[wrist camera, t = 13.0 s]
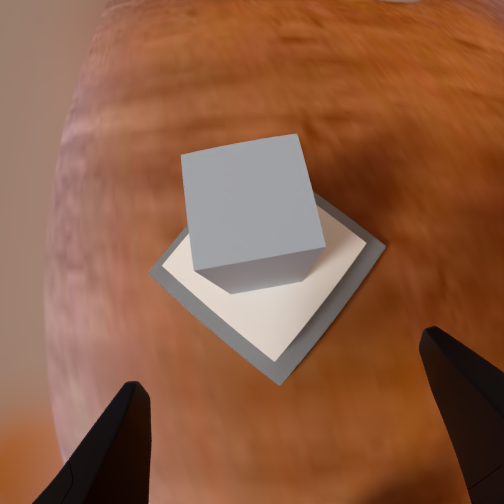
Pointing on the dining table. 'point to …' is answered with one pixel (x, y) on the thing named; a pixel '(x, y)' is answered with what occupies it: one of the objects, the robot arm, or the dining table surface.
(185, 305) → the square tray
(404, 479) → the dining table surface
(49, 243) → the dining table surface
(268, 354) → the off-white top slab
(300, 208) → the slate block
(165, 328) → the dining table surface
